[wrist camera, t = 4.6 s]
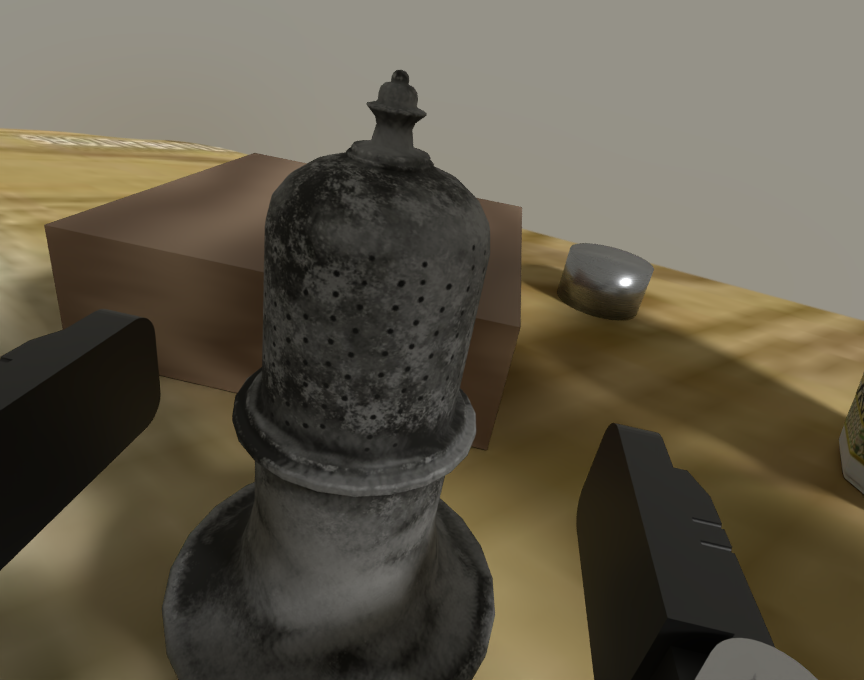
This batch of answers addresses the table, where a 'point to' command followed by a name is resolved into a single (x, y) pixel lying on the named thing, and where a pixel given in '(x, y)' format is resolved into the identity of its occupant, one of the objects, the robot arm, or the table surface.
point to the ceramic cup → (854, 441)
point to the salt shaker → (350, 435)
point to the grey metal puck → (604, 281)
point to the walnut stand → (241, 277)
